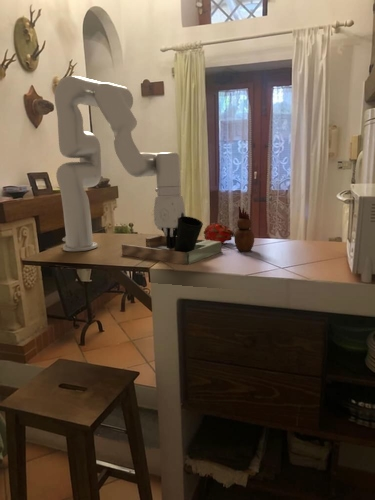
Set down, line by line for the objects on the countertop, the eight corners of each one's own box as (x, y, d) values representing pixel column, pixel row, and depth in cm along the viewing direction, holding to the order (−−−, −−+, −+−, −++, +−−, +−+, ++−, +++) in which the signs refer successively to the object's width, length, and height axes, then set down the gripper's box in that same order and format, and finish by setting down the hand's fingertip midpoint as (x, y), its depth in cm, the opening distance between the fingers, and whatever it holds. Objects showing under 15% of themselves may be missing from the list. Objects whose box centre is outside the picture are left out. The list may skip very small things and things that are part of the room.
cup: (192, 263, 123) (201, 228, 118) (168, 256, 124) (177, 221, 119) (195, 253, 130) (204, 220, 125) (173, 247, 131) (181, 214, 126)
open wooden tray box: (122, 254, 135) (121, 244, 134) (159, 243, 150) (158, 234, 149) (187, 264, 118) (186, 253, 117) (221, 251, 133) (221, 241, 132)
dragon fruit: (202, 246, 150) (232, 252, 146) (197, 237, 142) (229, 243, 138) (208, 226, 153) (238, 232, 149) (204, 216, 145) (235, 222, 141)
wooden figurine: (231, 249, 135) (231, 206, 132) (245, 247, 138) (245, 205, 134) (243, 253, 129) (242, 208, 126) (257, 251, 132) (257, 206, 128)
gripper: (143, 192, 127) (147, 247, 131) (180, 193, 118) (182, 252, 122) (159, 190, 132) (161, 243, 136) (194, 191, 124) (196, 247, 128)
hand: (171, 247), depth 129 cm, fingers closed
